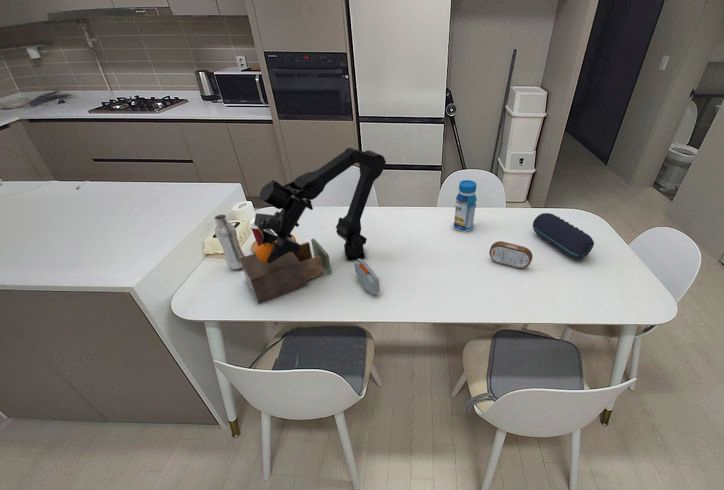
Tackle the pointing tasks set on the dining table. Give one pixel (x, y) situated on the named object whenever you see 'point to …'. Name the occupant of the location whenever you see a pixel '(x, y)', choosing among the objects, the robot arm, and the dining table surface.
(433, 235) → the dining table surface
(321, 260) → the drawer
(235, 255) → the plastic bottle
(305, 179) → the robot arm
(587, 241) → the portable speaker
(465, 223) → the beverage bottle
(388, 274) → the dining table surface
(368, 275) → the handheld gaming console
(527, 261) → the tin
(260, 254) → the orange
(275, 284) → the cabinet
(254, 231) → the paper cup
